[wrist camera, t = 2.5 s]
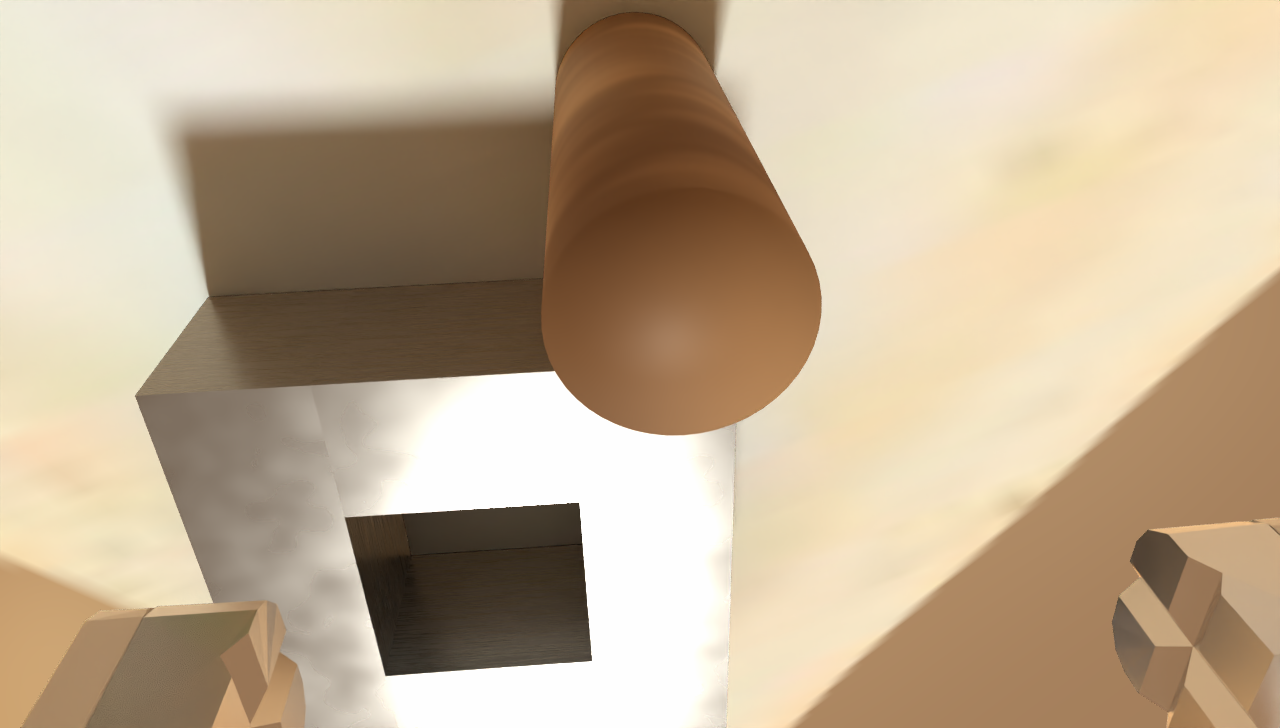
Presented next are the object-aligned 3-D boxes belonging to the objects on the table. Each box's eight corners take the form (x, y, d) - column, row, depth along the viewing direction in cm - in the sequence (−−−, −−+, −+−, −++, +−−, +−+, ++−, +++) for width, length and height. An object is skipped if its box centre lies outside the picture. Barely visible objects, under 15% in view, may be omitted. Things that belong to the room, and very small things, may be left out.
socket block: (710, 269, 26) (738, 360, 22) (706, 619, 33) (726, 739, 29) (208, 296, 25) (135, 395, 21) (315, 646, 33) (278, 772, 28)
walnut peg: (713, 8, 22) (832, 180, 12) (711, 167, 24) (811, 428, 14) (549, 15, 22) (527, 194, 12) (561, 174, 24) (552, 443, 14)
